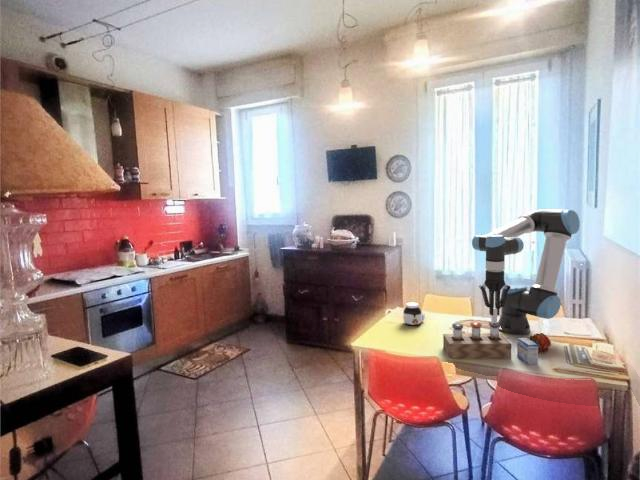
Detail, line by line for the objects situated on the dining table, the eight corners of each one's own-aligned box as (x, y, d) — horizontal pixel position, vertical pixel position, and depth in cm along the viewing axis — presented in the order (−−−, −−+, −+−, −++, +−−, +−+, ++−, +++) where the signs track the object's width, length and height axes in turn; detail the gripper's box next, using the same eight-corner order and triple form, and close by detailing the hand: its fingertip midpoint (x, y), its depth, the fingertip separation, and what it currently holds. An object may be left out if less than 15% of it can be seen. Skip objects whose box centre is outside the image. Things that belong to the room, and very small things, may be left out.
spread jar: (403, 326, 212) (403, 305, 210) (403, 319, 223) (403, 300, 221) (425, 327, 209) (425, 306, 208) (424, 320, 220) (424, 300, 219)
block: (500, 347, 178) (500, 333, 177) (511, 358, 166) (511, 343, 165) (443, 348, 180) (443, 334, 179) (449, 359, 168) (449, 344, 167)
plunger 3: (497, 340, 174) (497, 321, 172) (501, 344, 169) (501, 324, 168) (487, 340, 174) (487, 321, 173) (490, 344, 169) (490, 325, 168)
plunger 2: (479, 340, 174) (479, 321, 173) (482, 344, 170) (483, 325, 169) (469, 340, 175) (469, 321, 174) (472, 344, 170) (472, 325, 169)
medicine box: (516, 357, 167) (517, 338, 166) (526, 356, 168) (526, 337, 167) (528, 364, 160) (528, 345, 159) (538, 364, 160) (538, 344, 159)
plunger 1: (461, 342, 175) (461, 323, 174) (464, 346, 171) (464, 326, 169) (451, 342, 176) (451, 323, 174) (453, 346, 171) (453, 326, 170)
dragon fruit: (534, 358, 169) (540, 352, 178) (552, 350, 165) (557, 345, 174) (522, 340, 172) (528, 335, 181) (540, 332, 168) (545, 327, 177)
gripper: (506, 268, 171) (506, 319, 173) (476, 268, 172) (476, 319, 175) (513, 271, 163) (512, 324, 166) (482, 272, 164) (481, 325, 167)
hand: (494, 322), depth 170 cm, fingers closed
